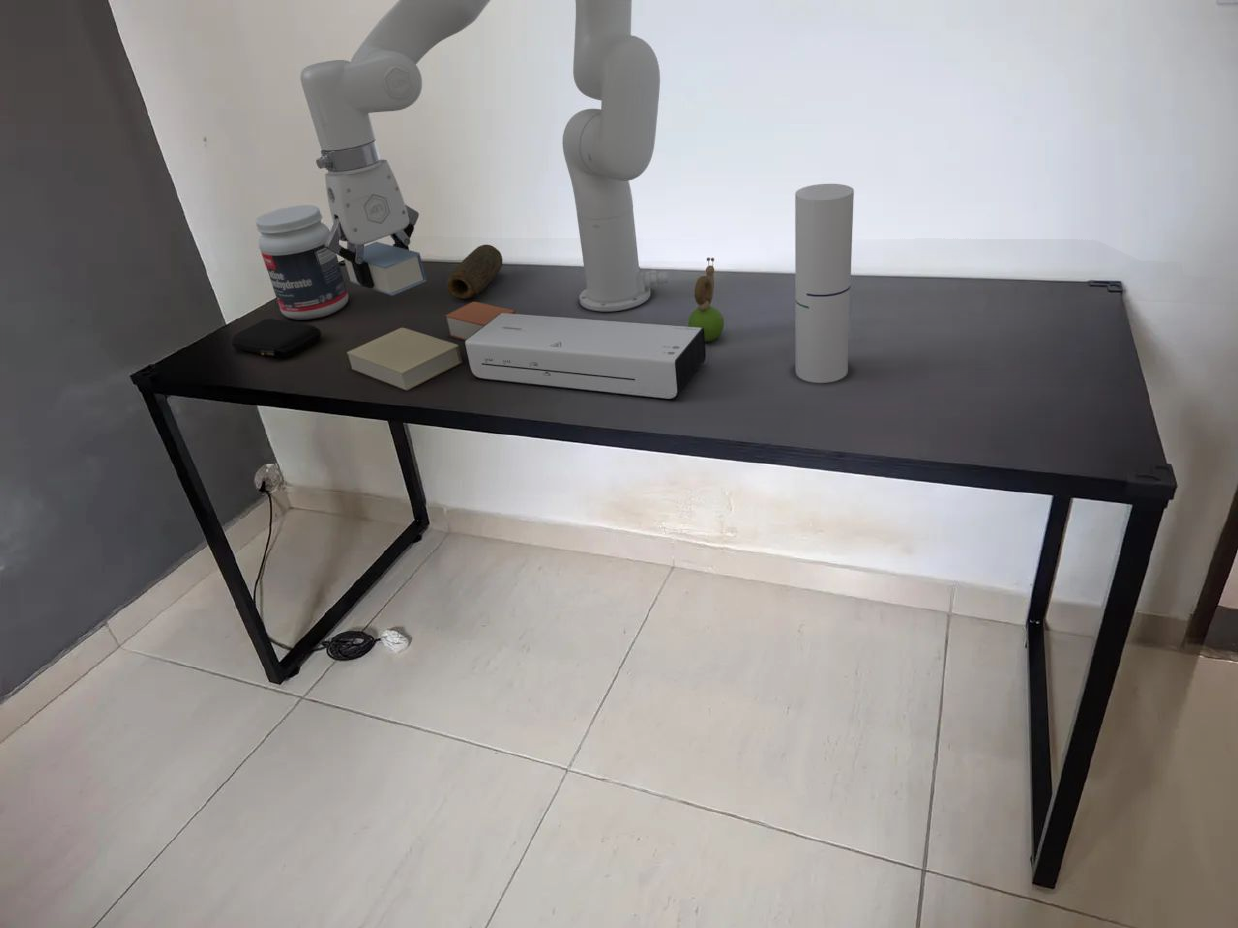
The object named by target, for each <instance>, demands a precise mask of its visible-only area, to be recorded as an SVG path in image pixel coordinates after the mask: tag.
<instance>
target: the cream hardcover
mask: <svg viewBox="0 0 1238 928" xmlns="http://www.w3.org/2000/svg"><path fill="white" fill-rule="evenodd" d="M346 355H347V356H348V359H349V362H350V365H351V370H353V371H355V372H358V373H361V374H363V375H366V376H369V377H371V378H373V379H376V380H379V381H381V382H384V383H387V384H388V385H391V386H393V387H397V388H399V389H402V390H405V391H409V390H411V389H413V388H415V387H416V386H419V385H421V384H423V383H425V382H427V381H428V380H431V379H432V378H435V377H437V376H438V375H440V374H443V373H445V372H446V371H448V370H450V369H452V368H454V367H457V366H458V365H460V364H462V363H463V358H462V355H461V350H460V345H459V344H456V343H453V342H450V341H447V340H444V339H441V338H437V337H434V336H431V335H428V334H425V333H421V332H418V331H415V330H412V329H409V328H406V327H400V328H398V329H395V330H393V331H391V332H389V333H386V334H384V335H382V336H380V337H378V338H375V339H373V340H371V341H369V342H366V343H365V344H362V345H360V346H357V347H356V348H352V349H351V350H348V351H347V352H346Z"/></svg>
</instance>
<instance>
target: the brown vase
mask: <svg viewBox="0 0 1238 928" xmlns="http://www.w3.org/2000/svg"><path fill="white" fill-rule="evenodd" d="M502 266H503V256H502V253H501V251H500V250H499V249H497V247H495V246H494V245H491V244H482V245H479V246H477V247H476V248H475V249H473V250H472V252H470V253H469V254H467V256H465V258H464V259H463V260H461V262H460V263H459V264H458V265H457V266H456V267H455V269H454V270H453V271H452V273H451V274H450V275H449V277H448V279H447V281H446V289H447V291H448V293H449V294H450V295H452V297H454V298H456V299H463V300H464V299H470V298H474V297H476V296H478V295H479V294H480V293H481V292H482V291H483V290H484V289H485V288H487V287H488V285H489V284H490V283H491V282H492V281H493V280H494V279H495V278H496V277H497V275H498V273H499V272H500V271H501V269H502Z"/></svg>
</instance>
